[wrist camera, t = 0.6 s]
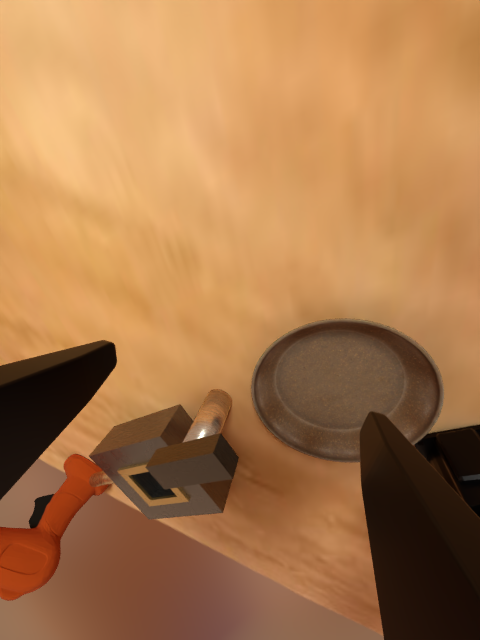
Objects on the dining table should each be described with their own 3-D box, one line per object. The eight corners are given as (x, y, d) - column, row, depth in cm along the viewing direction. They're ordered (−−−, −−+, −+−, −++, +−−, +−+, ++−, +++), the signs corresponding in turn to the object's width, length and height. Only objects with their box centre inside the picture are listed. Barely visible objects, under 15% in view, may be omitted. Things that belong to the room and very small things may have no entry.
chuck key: (254, 401, 27) (232, 478, 19) (200, 416, 30) (164, 489, 22) (240, 380, 26) (213, 453, 19) (187, 398, 29) (145, 467, 22)
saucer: (445, 301, 19) (464, 316, 16) (417, 447, 25) (429, 473, 22) (247, 309, 23) (240, 322, 20) (264, 432, 29) (260, 453, 26)
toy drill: (0, 415, 38) (-146, 542, 25) (118, 470, 41) (42, 608, 28) (-3, 432, 40) (-138, 555, 27) (109, 482, 43) (36, 614, 30)
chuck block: (233, 474, 33) (222, 515, 28) (130, 491, 41) (109, 525, 37) (180, 404, 30) (158, 438, 25) (79, 437, 38) (50, 468, 34)
